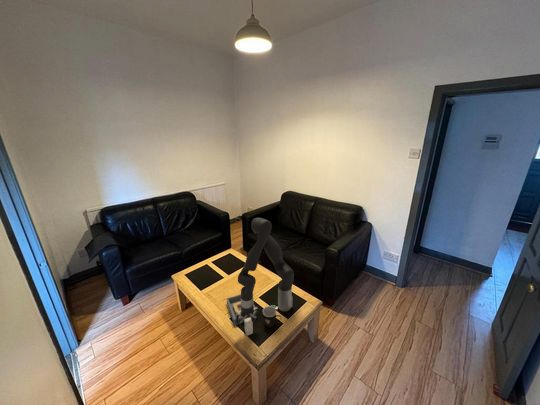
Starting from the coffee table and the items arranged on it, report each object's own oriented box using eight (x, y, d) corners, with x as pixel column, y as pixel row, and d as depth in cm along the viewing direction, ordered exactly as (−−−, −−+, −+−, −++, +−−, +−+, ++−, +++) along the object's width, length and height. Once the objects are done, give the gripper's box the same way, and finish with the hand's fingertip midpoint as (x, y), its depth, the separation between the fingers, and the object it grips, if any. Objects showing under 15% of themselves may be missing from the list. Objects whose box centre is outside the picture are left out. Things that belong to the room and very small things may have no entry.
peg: (250, 328, 139) (250, 317, 136) (252, 333, 136) (252, 322, 133) (244, 330, 138) (244, 319, 135) (246, 335, 134) (246, 324, 131)
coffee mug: (260, 323, 143) (260, 311, 139) (269, 315, 148) (269, 304, 145) (272, 334, 135) (272, 322, 131) (282, 326, 140) (282, 314, 137)
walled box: (248, 297, 164) (247, 291, 162) (257, 317, 147) (257, 311, 145) (227, 303, 158) (226, 298, 156) (234, 325, 141) (234, 319, 139)
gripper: (256, 295, 135) (256, 315, 141) (233, 302, 130) (234, 322, 135) (260, 304, 129) (260, 325, 134) (237, 311, 123) (237, 332, 129)
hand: (247, 323), depth 135 cm, fingers open, 8 cm apart
